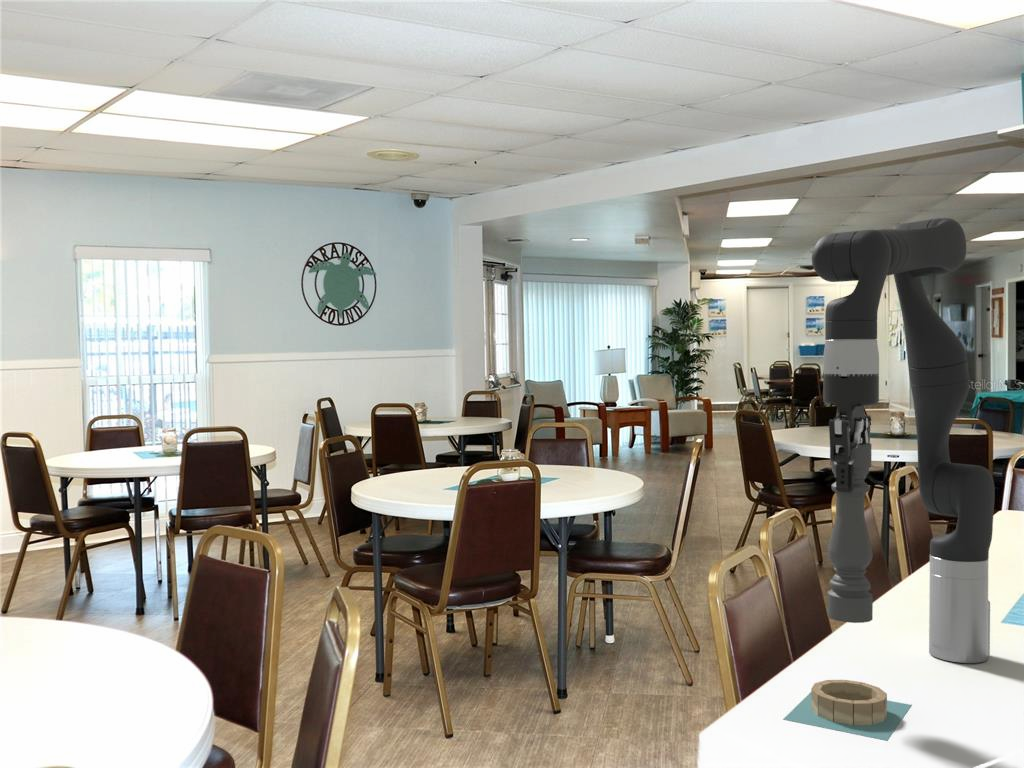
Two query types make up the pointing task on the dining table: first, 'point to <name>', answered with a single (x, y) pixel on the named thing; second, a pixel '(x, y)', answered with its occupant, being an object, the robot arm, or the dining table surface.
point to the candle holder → (851, 547)
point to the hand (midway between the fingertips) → (850, 488)
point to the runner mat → (877, 731)
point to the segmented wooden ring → (849, 702)
